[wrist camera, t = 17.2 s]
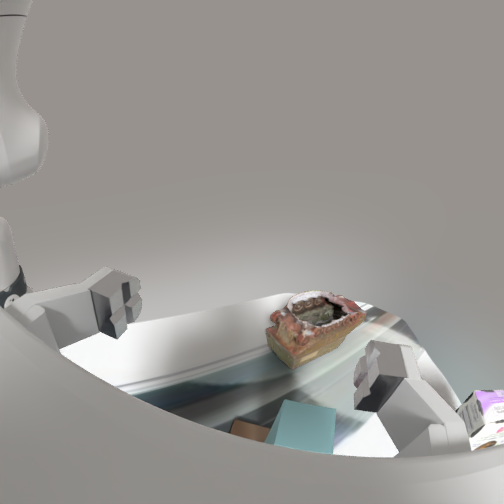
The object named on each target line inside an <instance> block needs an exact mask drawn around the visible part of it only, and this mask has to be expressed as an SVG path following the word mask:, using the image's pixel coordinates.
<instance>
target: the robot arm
mask: <svg viewBox="0 0 504 504" xmlns="http://www.w3.org/2000/svg"><path fill="white" fill-rule="evenodd" d="M32 1H33V0H0V187H4V186H8V185H12V184H14V183H16V182H19V181H21V180H23V179H25V178H27V177H29V176H32V175H34V174H36V173H37V172H38V171H39V169H40V168H41V166H42V164H43V162H44V160H45V158H46V155H47V151H48V146H49V133H48V129H47V125H46V123H45V121H44V119H43V118H42V117H41V116H40V114H38V112H36V111H35V110H33V109H32V108H31V107H30V106H29V105H28V103H27V102H26V101H25V99H24V98H23V96H22V94H21V92H20V89H19V86H18V82H17V75H16V64H17V56H18V50H19V45H20V40H21V36H22V32H23V29H24V25H25V22H26V19H27V16H28V13H29V10H30V7H31V4H32ZM140 288H141V286H140V280H139V279H138V278H136V277H134V276H131V275H128V274H126V273H123V272H121V271H118V270H115V269H112V268H110V267H103V268H101V269H100V270H98V271H97V272H95V273H94V274H92V275H91V276H90V277H88V278H87V279H85V280H84V281H83V282H81V283H80V284H78V285H77V284H70V285H66V286H61V287H56V288H52V289H47V290H42V291H37V292H34V291H33V290H32V288H30V287H28V286H27V285H26V281H25V276H24V273H23V271H22V268H21V266H20V265H19V264H18V259H17V255H16V250H15V245H14V239H13V234H12V229H11V227H10V225H9V223H8V222H7V221H6V220H5V219H4V218H3V217H1V216H0V504H504V444H500V445H496V446H492V447H488V448H483V449H478V450H472V451H471V446H470V441H469V437H468V433H467V429H466V425H465V422H464V421H463V420H462V419H461V417H460V416H459V415H458V414H457V413H456V412H455V411H454V410H453V409H452V408H451V407H450V406H449V405H448V404H447V402H446V401H445V400H444V399H443V398H442V397H441V396H440V395H439V394H438V393H437V392H436V391H435V390H434V389H433V388H432V387H431V386H430V385H429V384H428V383H427V382H426V381H425V380H421V376H420V372H419V369H418V365H417V362H416V359H415V355H414V352H413V349H412V347H411V346H408V345H400V344H391V343H385V342H379V341H374V340H371V341H370V342H369V343H368V344H367V346H366V348H365V352H366V355H365V356H363V357H361V358H360V359H359V361H358V363H357V365H356V368H355V372H354V378H353V380H354V385H355V387H356V388H357V390H356V392H355V393H354V410H361V411H368V412H376V413H377V415H378V417H379V419H380V420H381V422H382V424H383V426H384V427H385V429H386V431H387V432H388V434H389V436H390V437H391V439H392V441H393V443H394V444H395V446H396V448H397V449H398V451H399V453H398V454H397V455H396V456H394V457H393V458H381V457H357V456H344V455H333V454H325V453H317V452H310V451H303V450H297V449H292V448H286V447H281V446H276V445H272V444H267V443H263V442H259V441H255V440H251V439H247V438H243V437H239V436H236V435H232V434H229V433H226V432H222V431H219V430H216V429H213V428H210V427H207V426H204V425H201V424H198V423H195V422H193V421H190V420H187V419H185V418H182V417H179V416H177V415H174V414H172V413H169V412H167V411H165V410H162V409H160V408H158V407H155V406H153V405H151V404H149V403H146V402H144V401H142V400H140V399H138V398H136V397H134V396H132V395H130V394H128V393H126V392H124V391H122V390H120V389H118V388H116V387H114V386H112V385H111V384H109V383H107V382H105V381H103V380H102V379H100V378H98V377H96V376H95V375H93V374H91V373H90V372H88V371H86V370H85V369H83V368H81V367H80V366H78V365H77V364H75V363H73V362H72V361H70V360H69V359H67V358H66V357H64V356H63V355H61V353H60V350H59V349H61V348H63V347H66V346H68V345H71V344H73V343H75V342H78V341H80V340H83V339H85V338H87V337H90V336H92V335H95V334H97V333H99V331H100V332H102V333H104V334H106V335H108V336H110V337H113V338H115V339H118V338H119V337H120V336H121V335H122V334H123V333H124V332H125V331H126V330H127V324H129V323H132V322H134V321H135V320H136V319H137V318H138V316H139V314H140V312H141V308H142V299H141V297H140V295H139V294H138V291H139V290H140Z"/></svg>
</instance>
